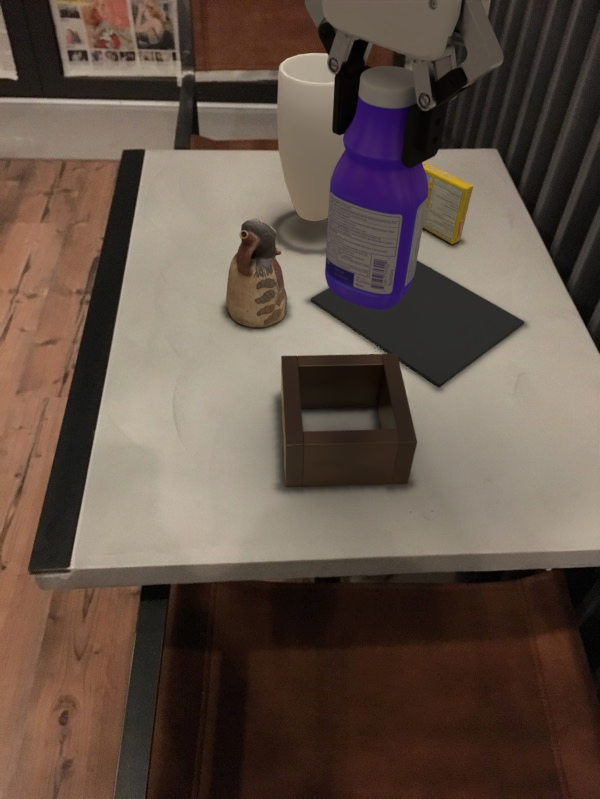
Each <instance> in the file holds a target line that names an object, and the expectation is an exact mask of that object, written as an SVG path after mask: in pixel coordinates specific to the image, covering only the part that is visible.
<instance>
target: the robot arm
mask: <svg viewBox="0 0 600 799" xmlns="http://www.w3.org/2000/svg"><path fill="white" fill-rule="evenodd" d="M491 2H492V0H304V7H305V8H306V10H307V13H308V14H309V16H310V18H311V20H312V21H313V24H314V25H315V27H316V28H318V29H317V34H318V38H319V40H320V42H321V44H322V46H323V48H324V50H325V52H326V54H328V56H329V57H328V60H327V66H328V69H329V71H330V72H331V73H332V74H335V81H334V101H333V121H332V131H333V133H335V134H337V135H342V134H344V133H345V131H346V130H347V129H348V127H349V126H350V124H351V122H352V121H353V119H354V116H355V113H356V109H357V104H358V94H359V86H360V76H361V74H362V73H363V72H364V71H365V70H367V69H369V68H372V66H370V65H369V64H366V63H367V61H368V58H369V56H370V52H371V50H372V47H373V45H376V46H379V47H381V48H384V49H387V50H390V51H393V52H395V53H398V54H401V55H404V56H406V57H410V59H411V60H410V61H411V71H413V77H414V85H415V92H416V99H417V104H415V105H413V106H411V107H409V109H408V111H407V119H406V127H405V135H404V142H403V150H402V158H401V161H402V164H403V165H404V166H406V167H408V168H412V167H414V166H416V165H418V164H420V163H422V162H426V161H428V160H430V159H433V158H435V157H436V155H437V154H438V152H439V150H440V148H441V146H442V142H443V136H444V131H445V130H444V129H445V124H446V117H447V112H448V107H449V102H451V101H453V100H454V99H456V98H457V97H458V96H459V95H460V94H461V93H463V92H464V91H466V90H467V89H468V88H470V87H471V86H473V85H474V84H475V83H476V82H477V81H478V80H481V79H482V78H483V77H485V76H487V75H488V74H490V73H491V72H492V71H494V70H496V69H497V68H499V67H500V66H501V65H502V64H503V62H504V59H505V58H504V53H503V49H502V48H501V45H500V43H499V40H498V38H497V35H496V32H495V31H494V28H493V26H492V24H491V22H490V19H489V13H490V9H491V8H490V7H491ZM455 46H460V47H465V49H466V57H465V59H464V60H463V61H462V62H461V63H460V64H458V66H457V57H456V56H457V55H456V47H455ZM434 63H435V67H434ZM434 68H435V69H434ZM435 72H436V77H435ZM436 79H437V80H436Z"/></svg>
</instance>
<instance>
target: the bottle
mask: <svg viewBox="0 0 600 799" xmlns="http://www.w3.org/2000/svg"><path fill="white" fill-rule="evenodd" d="M371 67H372V66H371ZM415 104H417V99H416V92H415V85H414V77H413V70H412V69H409V68H405V67H400V66H396V65H395V66H393V65H379V66H373V67H372V68H369V69H367V70H365V71H364V72H363V73H362V74H361V76H360V86H359V94H358V104H357V109H356V113H355V116H354V119H353V121H352V122H351V124H350V126H349V127H348V129H347V130H346V131H345V133H344V137H343V143H344V147H345V151H344V153H343V154H342V156H341V157H340V159H339V161H338V163H337V165H336V167H335V169H334V171H333V174H332V177H331V181H330V196H329V214H328V218H327V229H326V230H327V233H326V248H325V264H324V266H325V267H324V276H325V281H326V284H327V286H328V288H330V290H331V291H332V292H333V293H334V294H336V295H337V296H339V297H340V298H342V299H344V300H346V301H348V302H351V303H353V304H356V305H359V306H362V307H365V308H369V309H374V310H386V309H389V308H391V307H393V306H395V305H396V304H397V303H399V301H400V300H401V299H402V298H403V296H404V295H405V294H406V293H407V291H408V290H409V289H410V287H411V284H412V281H413V277H414V274H415V269H416V263H417V261H418V257H419V251H420V245H421V239H422V235H423V234H422V233H423V229H424V228H423V222H424V217H425V211H426V205H427V199H428V180H427V176H426V172H425V170H424V167H423V164H422V163H420V164H418V165H416V166H414V167H412V168H408V167H406V166H404V165H403V164H402V161H401V158H402V150H403V142H404V135H405V127H406V119H407V111H408V109H409V107H411V106H413V105H415Z"/></svg>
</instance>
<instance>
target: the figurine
mask: <svg viewBox="0 0 600 799" xmlns="http://www.w3.org/2000/svg"><path fill="white" fill-rule="evenodd" d="M277 232H278V231H276V230H275V228H273V227H272V226H271V225H270V224H267V223H265V221H263V220H262V219H258V218H252V219H249V220H245V221H244V222H243V223H242V224H241V228H240V232H239V238H240V241H241V242H240V244H239V246H238V249H237V252H236V253H235V254H234V256H233V257H232V259H231V262H230V265H229V268H228V276H227V284H226V295H225V298H226V306H227V311H228V314H229V316H230V318H232V319H233V321H234V322H236V323H237V324H240V325H242V326H245V327H250V328H267V327H271V326H272V325H275V324H277V323H279V322H280V321H281V320H283V319H284V318H285V316H286V314H287V304H288V296H287V291H286V288H285V281H284V273H283V270H282V267H281V265H280V263H279V261H278V260H277V256H280V255H282V250H281V249H279V248H277V245H276V244H277V243H276V242H277V241H276V240H277V239H276V238H277V234H278V233H277Z"/></svg>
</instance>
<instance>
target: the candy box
mask: <svg viewBox="0 0 600 799" xmlns="http://www.w3.org/2000/svg"><path fill="white" fill-rule="evenodd" d="M422 164H423V167H424V170H425V172H426V176H427V180H428V199H427V205H426V211H425V217H424V222H423V228H422V229H424V230H426V231H428V232H430V233H431V234H433V235H435V236H437V237H439V238H440V239H441V240H444V241H446V242H447V243H449V244H450V245H454V244H456V243H458V242H460V241H461V239H462V234H463V230H464V226H465V222H466V217H467V214H468V210H469V205H470V201H471V197H472V194H473V190H474V185H473V184H471V183H469V182H467V181H465V180H463V179H461V178H459V177H457V176H455V175H452V174H451V173H449V172H446V171H444V170H442V169H440V168H438V167H436V166H434V165H432V164H430V163H429V162H426V161H424V162H422Z"/></svg>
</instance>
